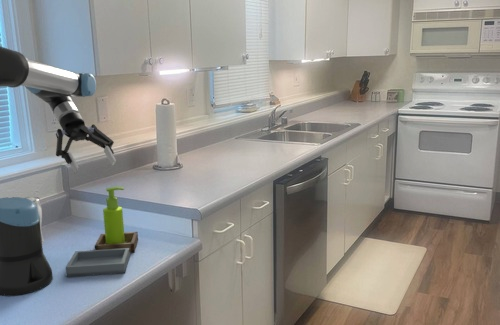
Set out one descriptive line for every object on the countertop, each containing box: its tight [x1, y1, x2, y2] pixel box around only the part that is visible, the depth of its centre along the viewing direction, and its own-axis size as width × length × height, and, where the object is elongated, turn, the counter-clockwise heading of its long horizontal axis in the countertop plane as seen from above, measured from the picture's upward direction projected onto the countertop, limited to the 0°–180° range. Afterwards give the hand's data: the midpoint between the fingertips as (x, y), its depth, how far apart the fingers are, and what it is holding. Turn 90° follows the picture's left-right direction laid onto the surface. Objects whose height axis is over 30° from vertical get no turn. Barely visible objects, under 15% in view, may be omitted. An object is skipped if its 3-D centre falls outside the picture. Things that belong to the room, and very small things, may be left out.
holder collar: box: [94, 231, 139, 254], centre depth 159 cm, size 12×11×3 cm
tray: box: [65, 248, 131, 278], centre depth 144 cm, size 16×12×3 cm
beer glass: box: [25, 196, 45, 243], centre depth 164 cm, size 7×7×15 cm
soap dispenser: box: [102, 186, 126, 244], centre depth 157 cm, size 6×7×20 cm
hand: (96, 166), depth 163 cm, fingers open, 13 cm apart
